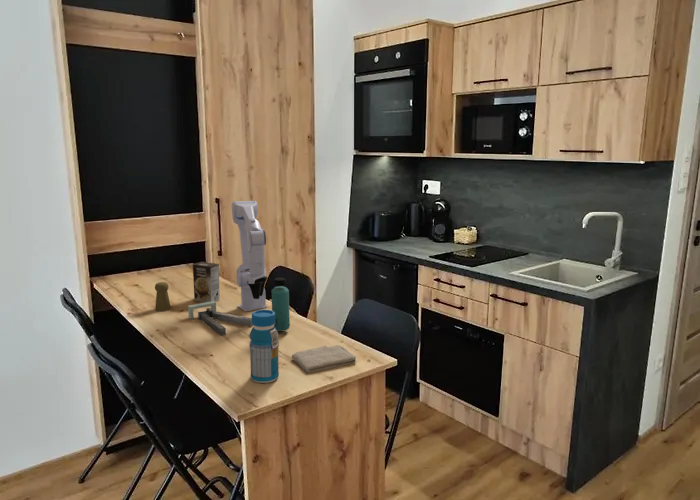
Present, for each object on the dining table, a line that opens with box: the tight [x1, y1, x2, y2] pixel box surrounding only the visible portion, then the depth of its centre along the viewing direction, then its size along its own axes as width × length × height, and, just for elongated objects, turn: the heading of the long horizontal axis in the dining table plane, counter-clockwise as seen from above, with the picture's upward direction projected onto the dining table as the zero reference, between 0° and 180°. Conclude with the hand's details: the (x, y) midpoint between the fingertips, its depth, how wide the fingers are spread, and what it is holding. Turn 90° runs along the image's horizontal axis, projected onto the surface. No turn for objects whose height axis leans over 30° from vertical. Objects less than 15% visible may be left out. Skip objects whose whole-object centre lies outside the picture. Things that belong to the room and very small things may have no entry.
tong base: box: [197, 310, 227, 336], centre depth 198 cm, size 5×22×2 cm, turn 36°
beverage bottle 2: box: [271, 277, 291, 332], centre depth 191 cm, size 6×7×20 cm
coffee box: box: [192, 261, 221, 303], centre depth 226 cm, size 9×6×16 cm
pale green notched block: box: [187, 301, 217, 320], centre depth 207 cm, size 10×2×5 cm, turn 126°
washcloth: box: [291, 344, 357, 374], centre depth 168 cm, size 12×18×3 cm, turn 120°
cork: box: [154, 281, 172, 312], centre depth 214 cm, size 6×6×11 cm
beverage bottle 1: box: [248, 309, 280, 384], centre depth 154 cm, size 8×8×20 cm
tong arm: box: [205, 307, 254, 328], centre depth 202 cm, size 2×21×3 cm, turn 64°
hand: (257, 297), depth 202 cm, fingers open, 3 cm apart
